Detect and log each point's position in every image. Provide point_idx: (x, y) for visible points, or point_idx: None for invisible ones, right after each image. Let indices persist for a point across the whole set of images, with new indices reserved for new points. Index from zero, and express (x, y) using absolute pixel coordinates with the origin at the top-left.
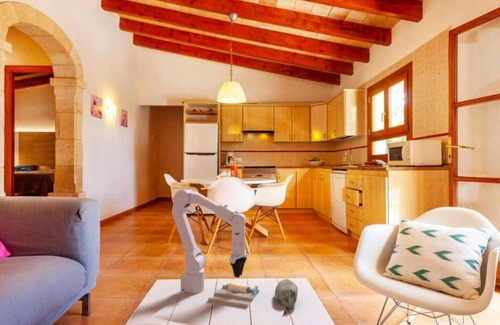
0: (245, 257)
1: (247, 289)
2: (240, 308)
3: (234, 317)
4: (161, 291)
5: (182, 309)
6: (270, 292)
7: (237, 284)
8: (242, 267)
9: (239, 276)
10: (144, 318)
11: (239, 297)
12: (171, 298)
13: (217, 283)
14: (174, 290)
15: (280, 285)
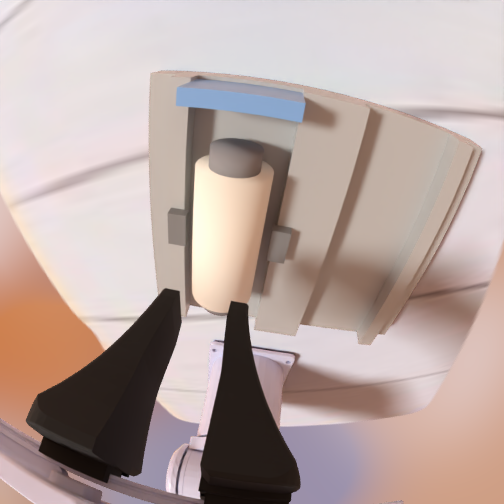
0: (52, 436)
1: (256, 167)
2: (467, 180)
3: (493, 196)
4: None
5: (389, 368)
6: (108, 15)
7: (227, 262)
8: (146, 352)
9: (239, 307)
10: (421, 403)
11: (339, 203)
12: (303, 401)
13: (117, 316)
14: None
15: None
